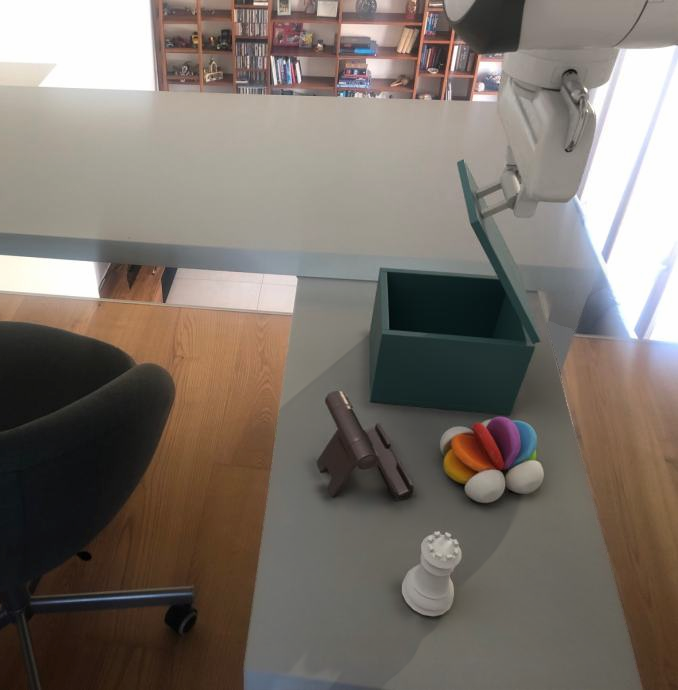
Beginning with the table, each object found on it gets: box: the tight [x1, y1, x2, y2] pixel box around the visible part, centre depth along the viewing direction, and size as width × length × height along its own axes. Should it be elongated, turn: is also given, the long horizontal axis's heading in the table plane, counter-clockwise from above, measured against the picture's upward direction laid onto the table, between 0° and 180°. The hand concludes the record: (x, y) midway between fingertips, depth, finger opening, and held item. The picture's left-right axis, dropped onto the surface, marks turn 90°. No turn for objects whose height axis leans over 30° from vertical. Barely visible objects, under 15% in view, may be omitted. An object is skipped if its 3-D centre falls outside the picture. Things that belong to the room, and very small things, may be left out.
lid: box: [456, 158, 541, 345], centre depth 71 cm, size 16×13×5 cm
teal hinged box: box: [369, 267, 536, 416], centre depth 80 cm, size 16×13×10 cm
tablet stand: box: [316, 390, 414, 501], centre depth 70 cm, size 9×8×8 cm
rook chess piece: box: [401, 530, 463, 617], centre depth 59 cm, size 4×4×8 cm
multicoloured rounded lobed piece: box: [439, 416, 545, 504], centre depth 70 cm, size 8×10×7 cm
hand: (515, 197), depth 68 cm, fingers closed on lid, 5 cm apart
